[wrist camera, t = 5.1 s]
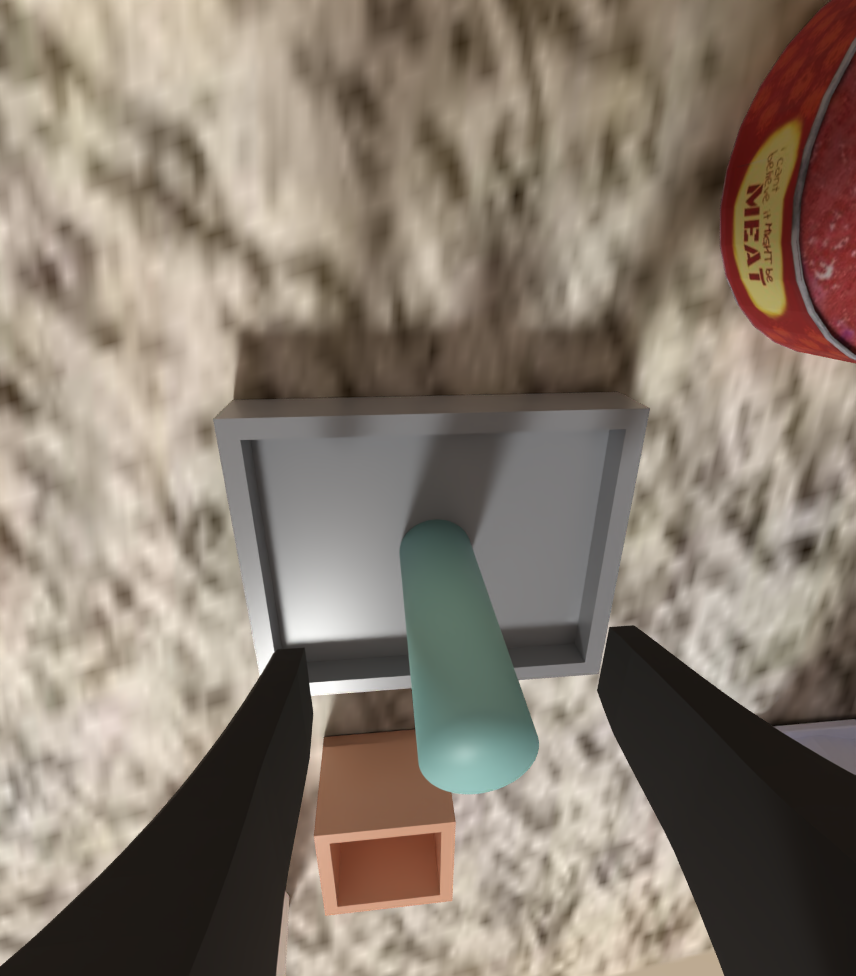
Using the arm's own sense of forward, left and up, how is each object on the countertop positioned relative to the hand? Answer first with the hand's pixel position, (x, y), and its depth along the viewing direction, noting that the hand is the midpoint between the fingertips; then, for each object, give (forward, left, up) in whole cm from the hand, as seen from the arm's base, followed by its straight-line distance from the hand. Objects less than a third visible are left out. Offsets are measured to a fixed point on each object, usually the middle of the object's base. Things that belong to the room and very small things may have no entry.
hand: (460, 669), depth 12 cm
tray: (0, 0, -6) cm, 6 cm away
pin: (0, 0, -5) cm, 5 cm away
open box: (+2, +12, -6) cm, 14 cm away
